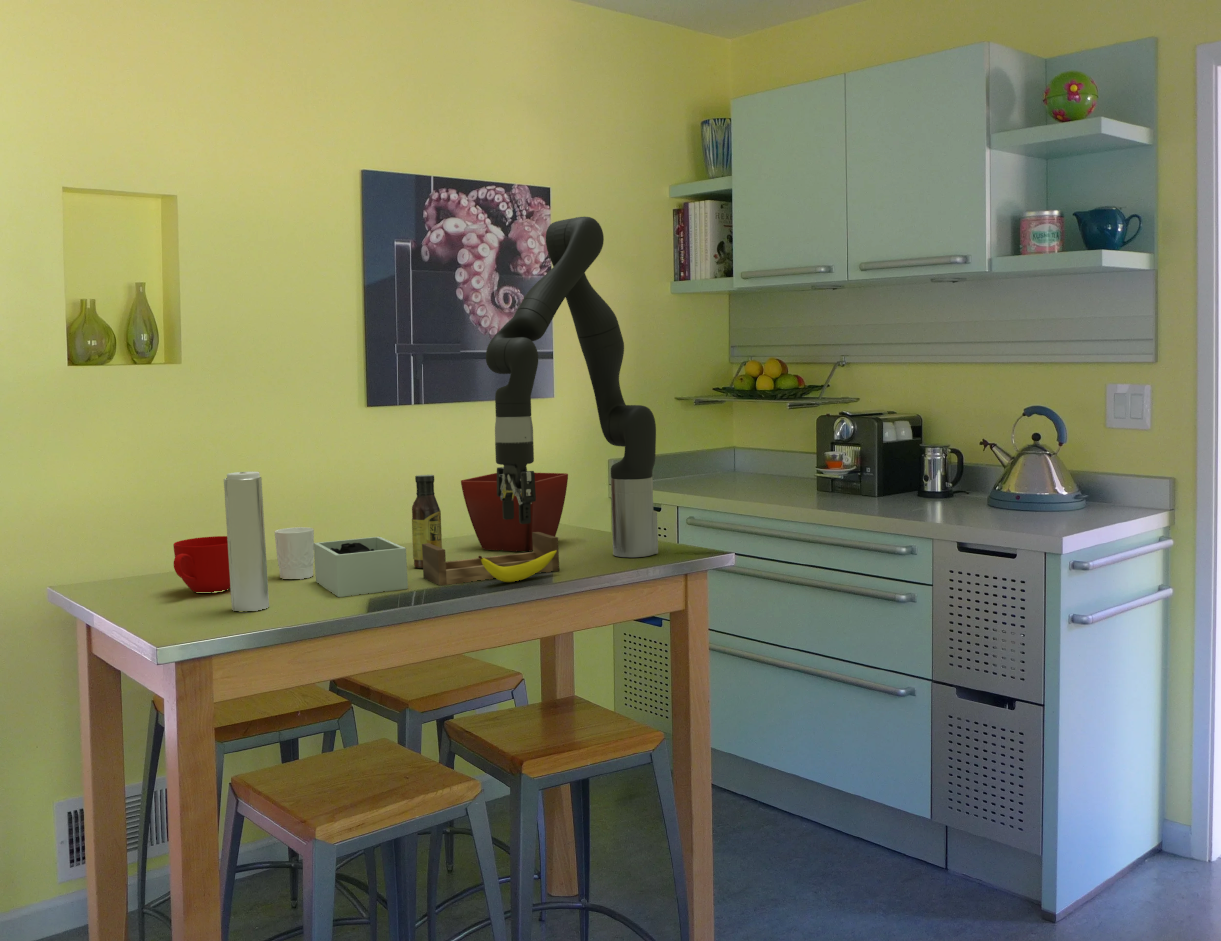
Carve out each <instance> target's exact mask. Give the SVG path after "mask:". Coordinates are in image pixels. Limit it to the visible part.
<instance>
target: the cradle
mask: <svg viewBox="0 0 1221 941" xmlns="http://www.w3.org/2000/svg"><path fill="white" fill-rule="evenodd" d="M532 541H533V551H529V552H519V553H510V554H503V555H493V556H485V557H483V556H482V558H485V559H487V560H489V561H491V562H492V563H494V564H496V565H498V566H502V567H507V566H514V565H519V564H523V563H526V562H529V561H532V560H534V559H537V558H539V557H541V556H543V555H545V554H547V553H549V552H551V551H555V550H557V552H556V553H555V555H554V557H553V558H552V559H551V561H550V562H549V563H548V564H547V565H546V566H545V567H544V568H543V569H542V570H540V571H539V572H537V573H538V574H541V573H540V572H546V573H552V572H551V571H555V572H559V571H560V557H559V556H560V554H559V552H560V550H559V548H560V547H559V537H557V536H551V535H548V534H544V533H541V532H532ZM422 555H423V568H422V571H423V572H422V573H423V576H422V577H423V579H425V578H426V579H425V580H427V579H428V580H427V581H429V582H432V583H433V582H434V583H433V584H436V585H437V584H438V586H447V585H454V584H456V583H457V584H462V583H463V582H465V583H471V581H473V582H478V581H477V580H481V581H486V580H485V579H489V580H494V579H493V578H495V577H493V576H492V575H491V574H490V573H489V572H488V571H487V570H486V569H485V567H484V566H483V564H482V562H481V559H480V558H478V557H475V558H465V559H458V560H449V561H446V560H447V559H446V549H445V548H443V547H442V548H440V547H437V546H435V545H432V544H430V543H426V544H422ZM457 584H456V585H457ZM463 584H464V583H463Z"/></svg>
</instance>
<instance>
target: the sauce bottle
mask: <svg viewBox="0 0 1221 941" xmlns="http://www.w3.org/2000/svg"><path fill="white" fill-rule="evenodd" d="M415 484H416V485H415V486H416V498H415V500H414V501H413V504H412V506H411V535H412V536H411V537H412V538H411V539H412V559H413V565H414V568H416V569H423V555H422V544H426V543H430V544H432V545H435V546H437V547H440V548H442V549H443V542H442V539H443V538H442V537H443V535H442V514H441V509H440V506H439V503H438V500H437V498H436V495H435V474H416V475H415Z"/></svg>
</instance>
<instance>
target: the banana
mask: <svg viewBox="0 0 1221 941" xmlns="http://www.w3.org/2000/svg"><path fill="white" fill-rule="evenodd" d="M556 552H557V550H555V551H551V552H549V553H547V554H545V555H543V556H541V557H539V558H537V559H534V560H532V561H529V562H526V563H523V564H519V565H514V566H507V567H502V566H498V565H496V564H494V563H492V562H491V561H489V560H487V559H485V558H483V556H481V555H478V557H477V558H480V559H481V562H482V564H483V566H484V567H485V569H486V570H487V571H488V572H489V573H490V574H491V575H492V576H493V577H495V578H496V580H498V581H500V582H503V583H507V584H508V583H516V582H515V581H517V582H520V581H522V580H525V579H527V578H529V577H532V576H533V575H536V574H535V573H537V572H539V571H540V570H542V569H543V568H544V567H545V566H546V565H547V564H548V563H549V562H550V561H551V559H552V558H553V557H554V555H555V553H556ZM519 580H520V581H519Z"/></svg>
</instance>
